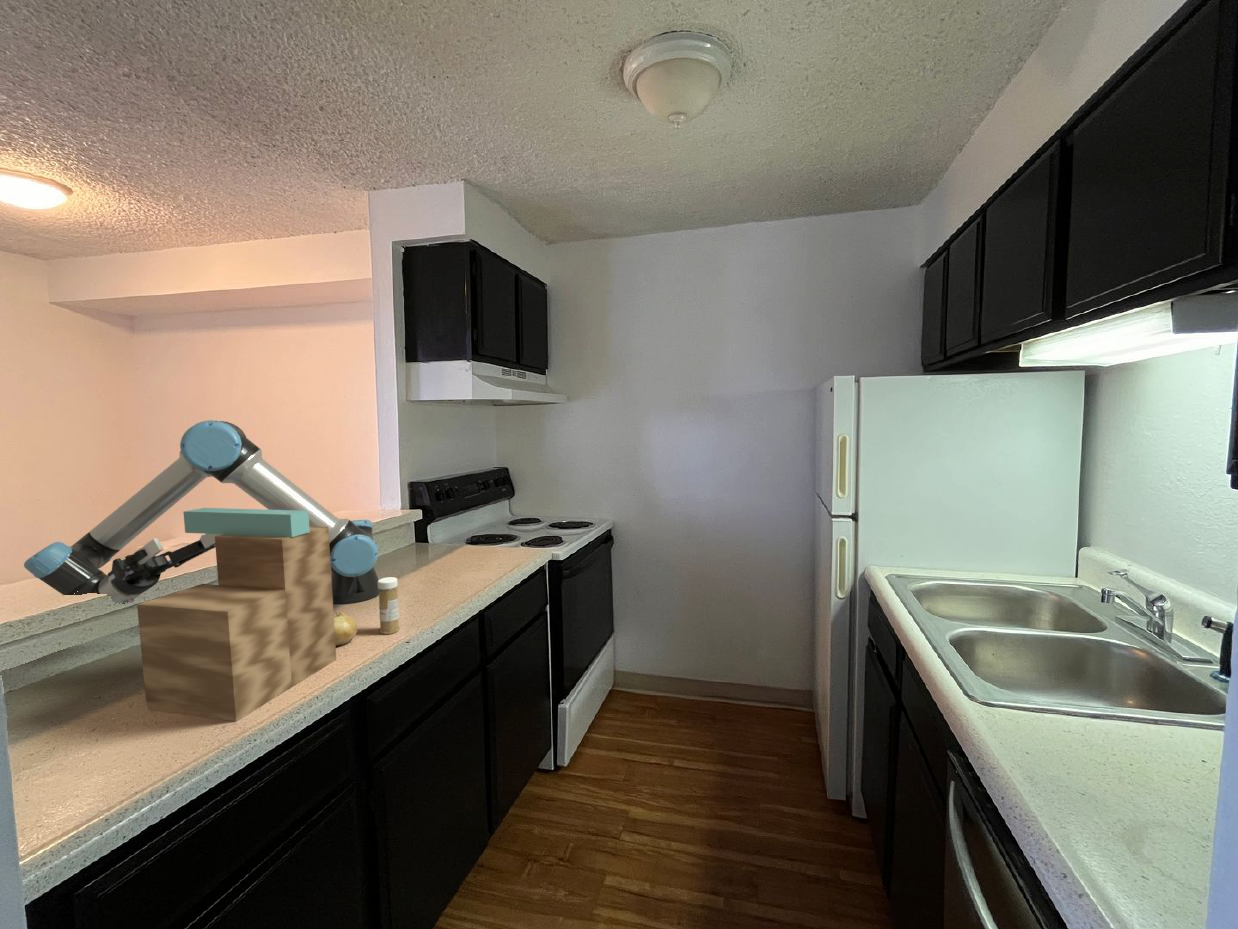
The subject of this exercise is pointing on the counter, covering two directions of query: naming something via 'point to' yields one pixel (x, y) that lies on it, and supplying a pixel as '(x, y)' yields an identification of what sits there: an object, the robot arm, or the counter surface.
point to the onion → (344, 628)
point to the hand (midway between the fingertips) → (192, 536)
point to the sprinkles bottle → (388, 605)
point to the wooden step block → (241, 628)
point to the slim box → (247, 522)
